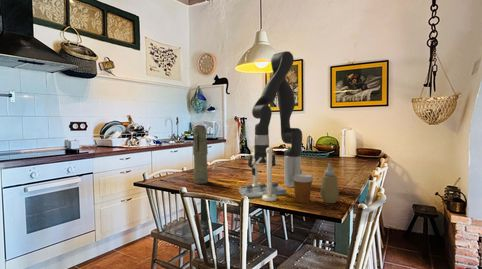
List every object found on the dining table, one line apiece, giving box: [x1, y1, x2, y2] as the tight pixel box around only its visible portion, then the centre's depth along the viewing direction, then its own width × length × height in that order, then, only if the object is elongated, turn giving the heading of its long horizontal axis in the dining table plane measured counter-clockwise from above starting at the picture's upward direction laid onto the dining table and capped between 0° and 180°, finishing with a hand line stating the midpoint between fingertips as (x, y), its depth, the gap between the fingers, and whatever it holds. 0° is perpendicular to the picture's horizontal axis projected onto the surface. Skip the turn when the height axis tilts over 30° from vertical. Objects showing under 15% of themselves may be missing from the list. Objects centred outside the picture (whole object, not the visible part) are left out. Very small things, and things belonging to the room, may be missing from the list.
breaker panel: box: [238, 184, 287, 199], centre depth 144 cm, size 22×12×3 cm, turn 105°
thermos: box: [192, 124, 209, 185], centre depth 168 cm, size 9×12×35 cm
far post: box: [251, 143, 259, 186], centre depth 153 cm, size 7×7×25 cm
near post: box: [261, 147, 278, 202], centre depth 132 cm, size 7×7×25 cm
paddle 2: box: [272, 181, 279, 188], centre depth 145 cm, size 3×3×2 cm
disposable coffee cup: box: [293, 173, 314, 204], centre depth 129 cm, size 10×10×12 cm
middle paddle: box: [258, 182, 267, 188], centre depth 143 cm, size 3×3×2 cm
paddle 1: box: [245, 183, 253, 190], centre depth 142 cm, size 3×3×2 cm
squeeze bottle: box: [319, 162, 339, 204], centre depth 127 cm, size 8×8×18 cm
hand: (261, 174), depth 143 cm, fingers open, 8 cm apart
